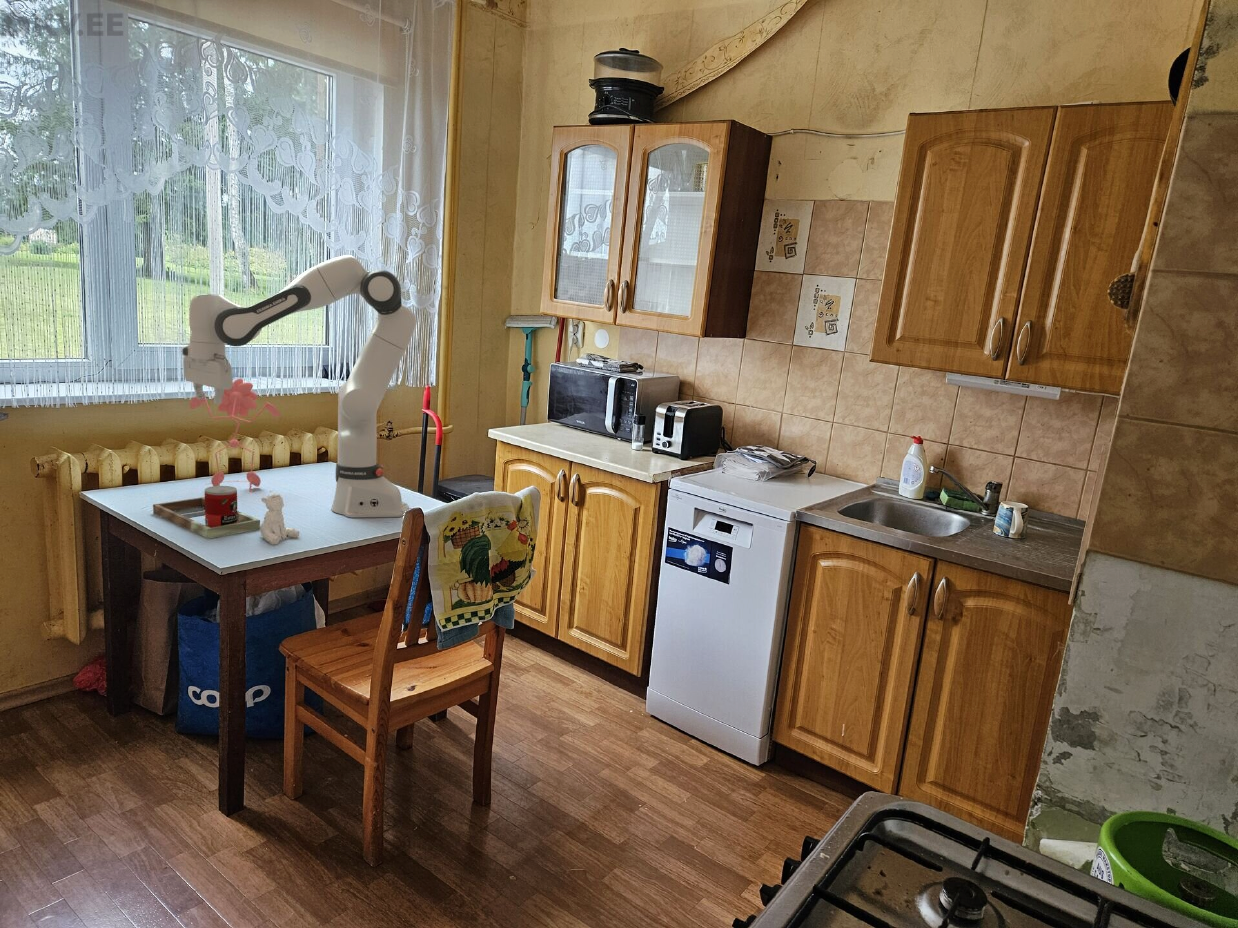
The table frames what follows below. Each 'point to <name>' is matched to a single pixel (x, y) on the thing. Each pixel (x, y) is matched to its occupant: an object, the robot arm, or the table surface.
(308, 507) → the table surface
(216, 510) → the canned food
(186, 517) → the shallow wooden tray
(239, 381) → the flower headed marionette
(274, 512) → the sitting furry creature
